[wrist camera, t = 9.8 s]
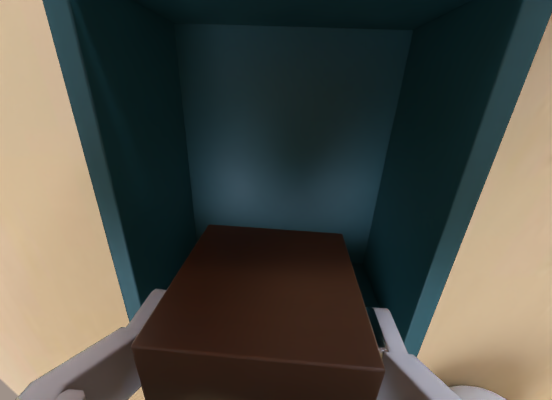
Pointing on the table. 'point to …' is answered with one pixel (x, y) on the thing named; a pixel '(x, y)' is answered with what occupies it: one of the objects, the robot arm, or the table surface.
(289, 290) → the block
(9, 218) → the table surface
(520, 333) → the table surface
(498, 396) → the pump dispenser
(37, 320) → the table surface
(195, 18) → the container
